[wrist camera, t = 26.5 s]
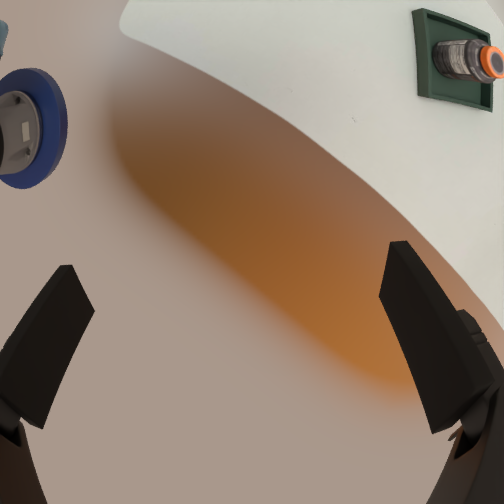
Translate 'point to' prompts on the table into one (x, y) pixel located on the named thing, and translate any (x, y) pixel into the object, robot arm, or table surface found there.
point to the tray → (429, 78)
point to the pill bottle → (468, 60)
